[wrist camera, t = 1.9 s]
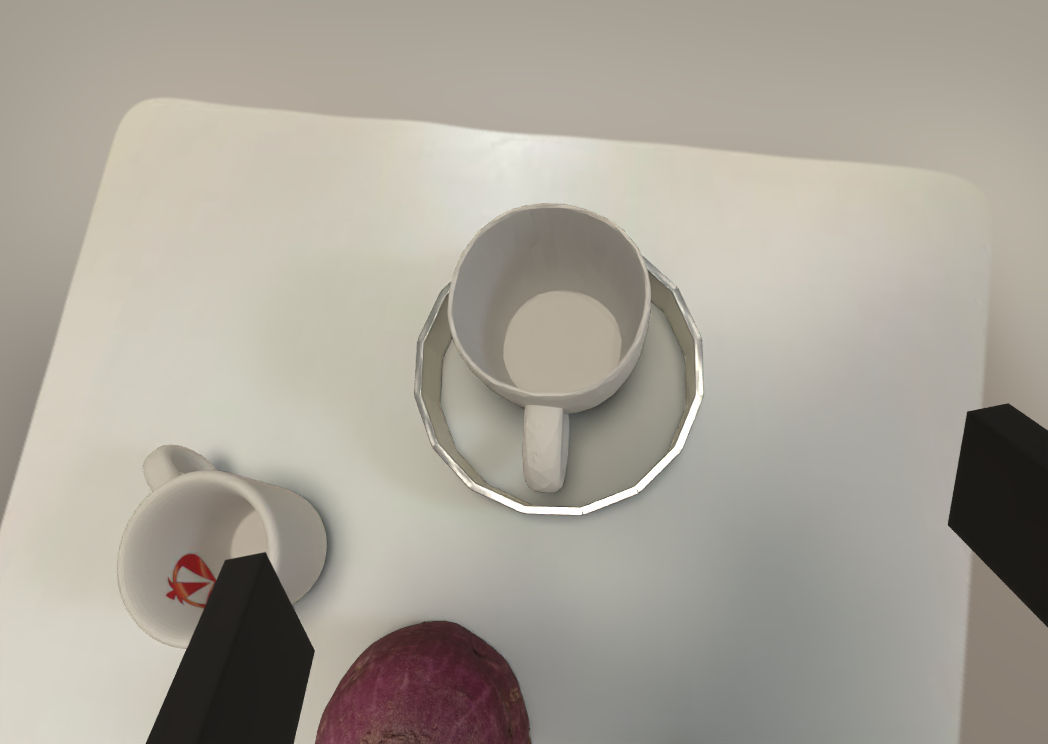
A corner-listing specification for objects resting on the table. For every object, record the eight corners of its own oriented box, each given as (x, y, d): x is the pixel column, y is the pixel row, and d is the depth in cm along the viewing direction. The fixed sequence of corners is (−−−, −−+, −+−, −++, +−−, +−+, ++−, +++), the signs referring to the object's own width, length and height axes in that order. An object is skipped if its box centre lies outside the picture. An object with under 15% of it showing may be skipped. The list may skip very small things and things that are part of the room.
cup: (165, 500, 39) (55, 498, 32) (268, 413, 40) (185, 390, 32) (263, 651, 37) (170, 689, 29) (373, 557, 37) (310, 570, 29)
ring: (630, 221, 39) (632, 190, 35) (737, 454, 36) (753, 448, 32) (401, 316, 40) (379, 295, 36) (485, 553, 36) (471, 559, 32)
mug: (493, 273, 40) (455, 198, 30) (644, 278, 38) (656, 201, 29) (474, 488, 37) (426, 482, 27) (635, 500, 36) (644, 498, 26)
